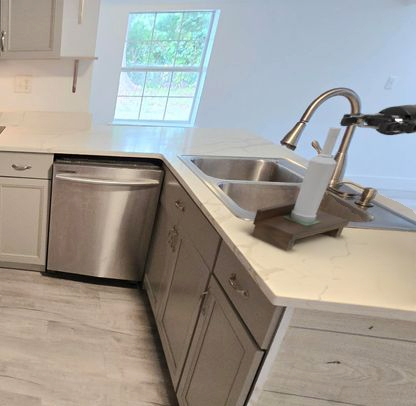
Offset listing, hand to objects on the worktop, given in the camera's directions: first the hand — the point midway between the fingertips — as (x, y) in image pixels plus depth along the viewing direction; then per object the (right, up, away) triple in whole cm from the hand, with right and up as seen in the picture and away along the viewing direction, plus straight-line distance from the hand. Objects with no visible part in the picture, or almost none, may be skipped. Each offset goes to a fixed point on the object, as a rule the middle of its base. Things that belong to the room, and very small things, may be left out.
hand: (363, 125), depth 93 cm
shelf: (-10, -29, +9) cm, 32 cm away
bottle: (-10, -25, +7) cm, 27 cm away
